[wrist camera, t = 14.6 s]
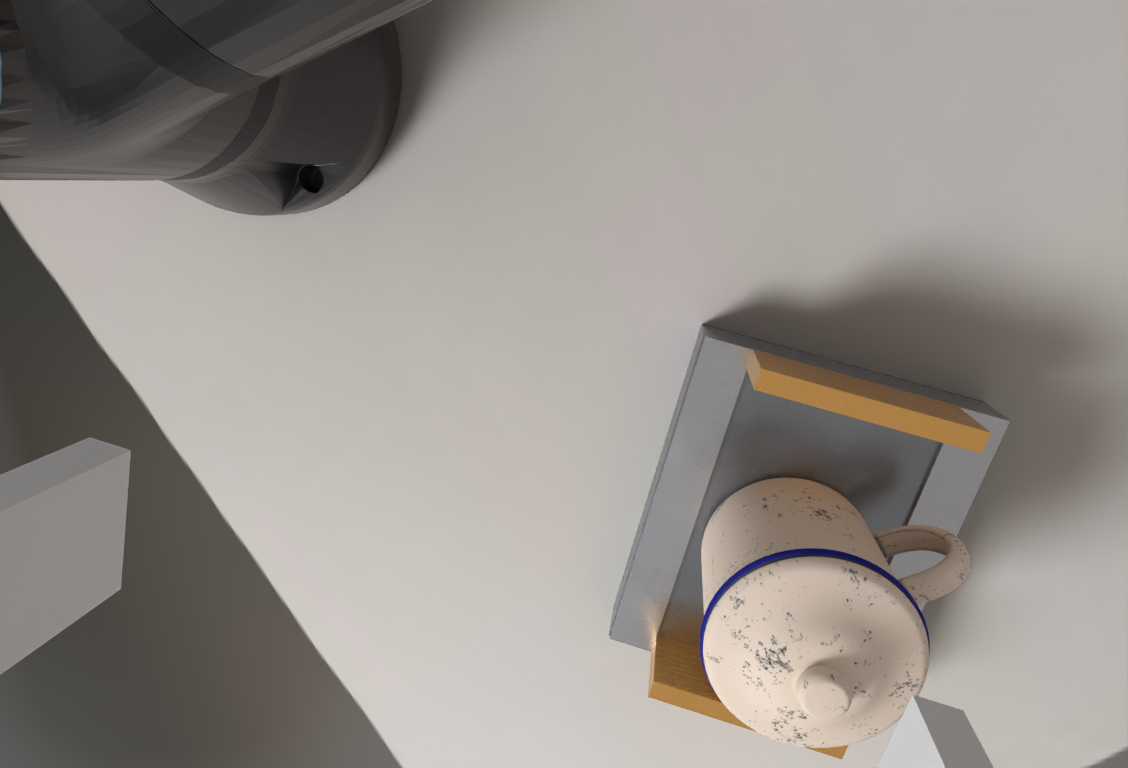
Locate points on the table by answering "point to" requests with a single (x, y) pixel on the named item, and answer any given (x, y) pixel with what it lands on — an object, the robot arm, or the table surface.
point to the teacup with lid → (816, 613)
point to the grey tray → (787, 450)
